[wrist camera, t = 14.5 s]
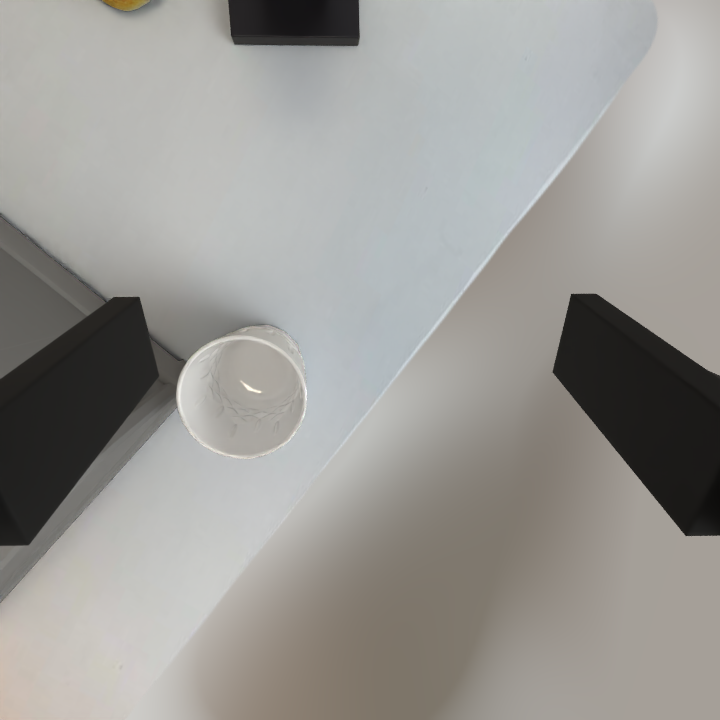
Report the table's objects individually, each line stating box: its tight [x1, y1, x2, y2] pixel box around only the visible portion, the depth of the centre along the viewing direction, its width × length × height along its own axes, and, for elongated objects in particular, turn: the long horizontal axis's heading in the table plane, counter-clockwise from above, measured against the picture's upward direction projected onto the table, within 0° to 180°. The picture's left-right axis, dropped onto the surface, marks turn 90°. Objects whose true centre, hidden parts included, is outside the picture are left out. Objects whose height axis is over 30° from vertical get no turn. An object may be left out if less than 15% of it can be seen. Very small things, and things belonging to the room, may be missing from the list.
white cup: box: [176, 325, 307, 459], centre depth 32 cm, size 8×8×10 cm
